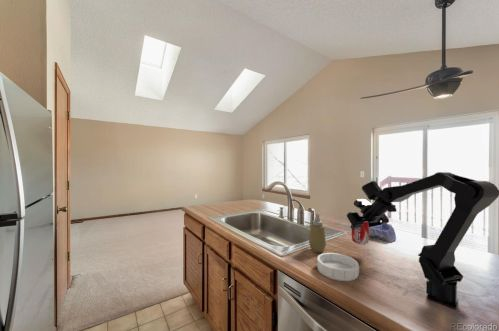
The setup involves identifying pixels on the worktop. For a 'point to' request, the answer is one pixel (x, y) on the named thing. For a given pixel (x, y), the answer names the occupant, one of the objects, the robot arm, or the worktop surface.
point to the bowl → (338, 266)
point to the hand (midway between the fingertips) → (357, 227)
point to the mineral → (383, 232)
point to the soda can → (361, 234)
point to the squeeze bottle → (317, 235)
